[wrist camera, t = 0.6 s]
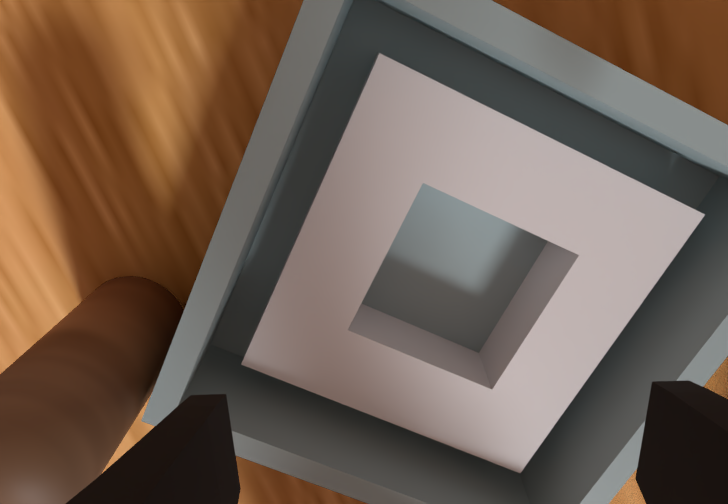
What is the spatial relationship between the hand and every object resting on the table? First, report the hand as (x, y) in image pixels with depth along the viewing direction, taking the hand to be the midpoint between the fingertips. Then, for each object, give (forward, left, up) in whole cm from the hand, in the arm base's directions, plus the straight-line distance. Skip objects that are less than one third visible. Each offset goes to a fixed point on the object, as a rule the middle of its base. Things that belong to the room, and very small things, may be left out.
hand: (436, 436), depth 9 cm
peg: (-7, +7, -10) cm, 14 cm away
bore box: (0, -2, -10) cm, 10 cm away
